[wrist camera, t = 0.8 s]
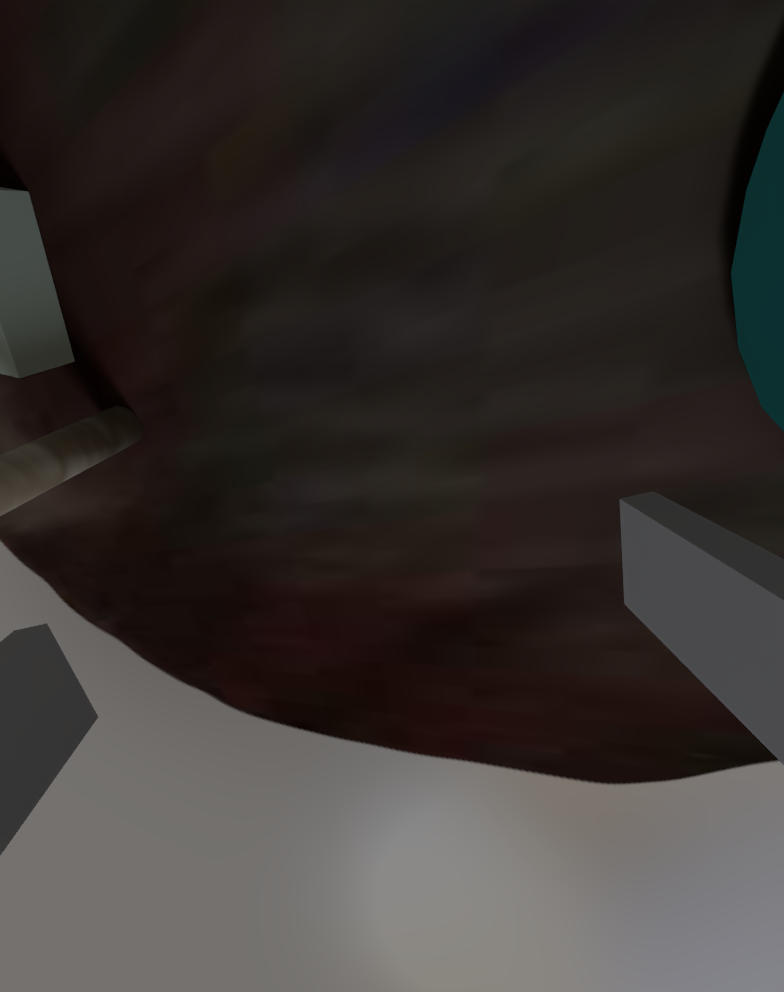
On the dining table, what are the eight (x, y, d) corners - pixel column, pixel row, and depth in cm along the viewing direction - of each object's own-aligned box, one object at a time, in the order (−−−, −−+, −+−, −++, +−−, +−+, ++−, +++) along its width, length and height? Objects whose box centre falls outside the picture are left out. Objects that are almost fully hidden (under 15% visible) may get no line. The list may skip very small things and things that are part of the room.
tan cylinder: (103, 401, 36) (-123, 493, 24) (138, 409, 36) (-76, 509, 24) (113, 438, 38) (-94, 542, 26) (146, 446, 38) (-49, 557, 25)
